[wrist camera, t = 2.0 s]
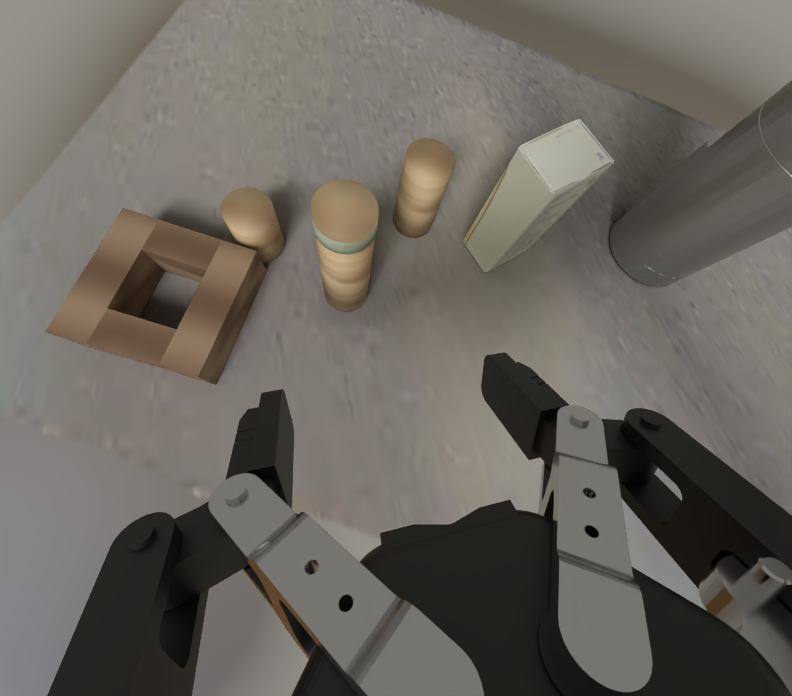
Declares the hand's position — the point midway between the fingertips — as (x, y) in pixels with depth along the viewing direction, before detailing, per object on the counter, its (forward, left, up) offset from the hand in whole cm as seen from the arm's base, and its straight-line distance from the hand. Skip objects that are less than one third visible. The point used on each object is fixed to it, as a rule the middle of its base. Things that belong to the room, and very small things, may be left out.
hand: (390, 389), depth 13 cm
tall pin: (-10, -5, -16) cm, 20 cm away
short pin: (-12, -14, -16) cm, 25 cm away
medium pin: (-20, -1, -16) cm, 26 cm away
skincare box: (-20, +8, -16) cm, 27 cm away
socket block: (-4, -18, -16) cm, 25 cm away
